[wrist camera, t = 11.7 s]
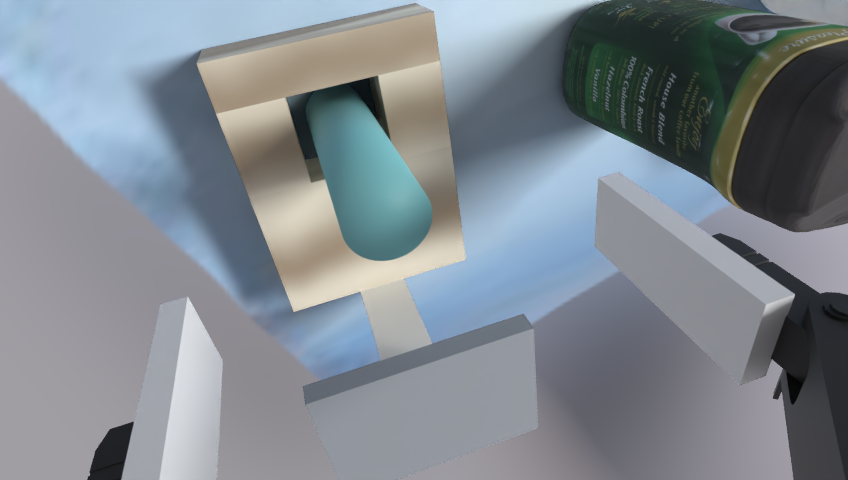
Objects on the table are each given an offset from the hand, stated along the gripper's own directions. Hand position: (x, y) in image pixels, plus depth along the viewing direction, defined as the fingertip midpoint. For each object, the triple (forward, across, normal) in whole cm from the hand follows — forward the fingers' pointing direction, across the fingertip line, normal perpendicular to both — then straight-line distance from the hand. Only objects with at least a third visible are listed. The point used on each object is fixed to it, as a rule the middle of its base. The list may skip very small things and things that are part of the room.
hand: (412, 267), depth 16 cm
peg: (+18, 0, -1) cm, 18 cm away
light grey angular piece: (+18, 0, -11) cm, 21 cm away
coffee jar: (+18, +20, -2) cm, 27 cm away
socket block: (+18, 0, -4) cm, 18 cm away
